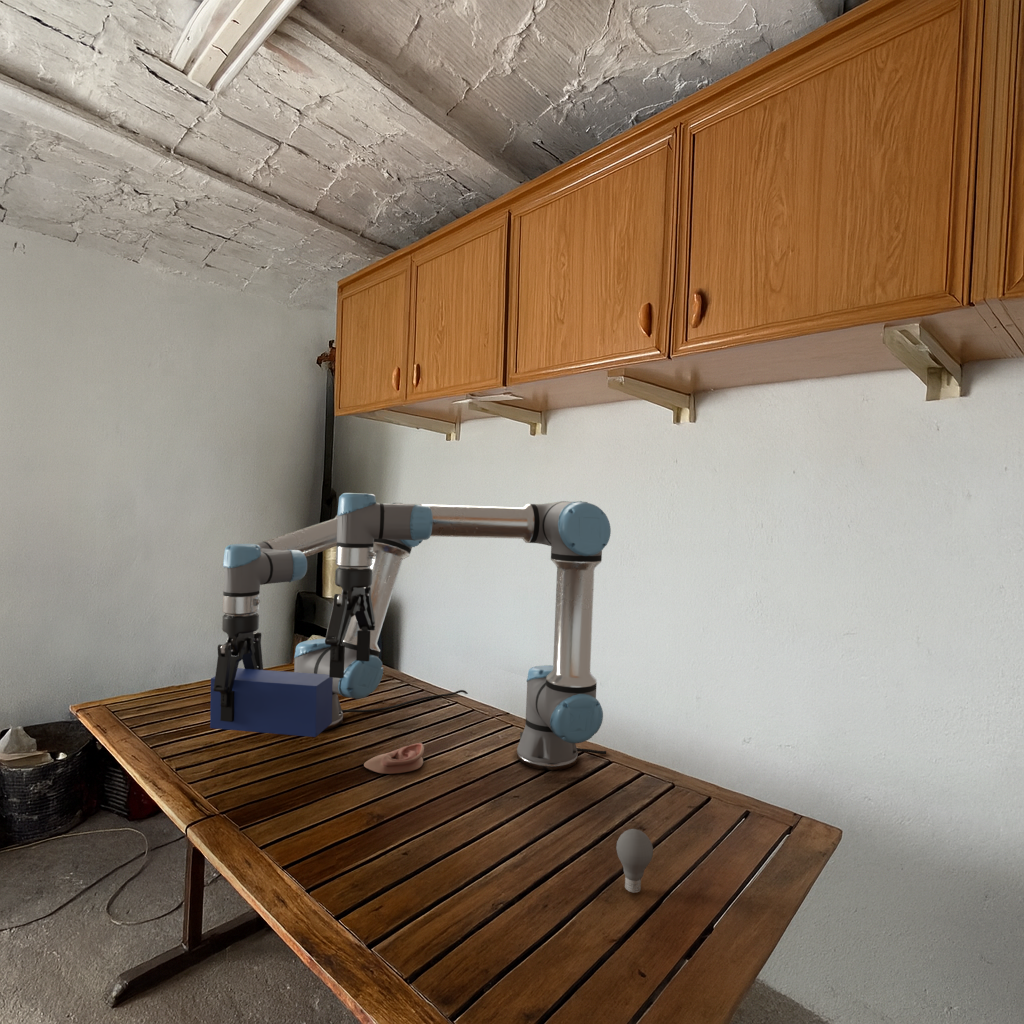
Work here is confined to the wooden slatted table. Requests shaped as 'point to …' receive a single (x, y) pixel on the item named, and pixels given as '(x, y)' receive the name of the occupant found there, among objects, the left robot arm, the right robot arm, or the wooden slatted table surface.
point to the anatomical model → (397, 760)
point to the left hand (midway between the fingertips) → (239, 713)
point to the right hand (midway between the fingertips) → (350, 668)
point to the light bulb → (634, 857)
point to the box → (277, 703)
